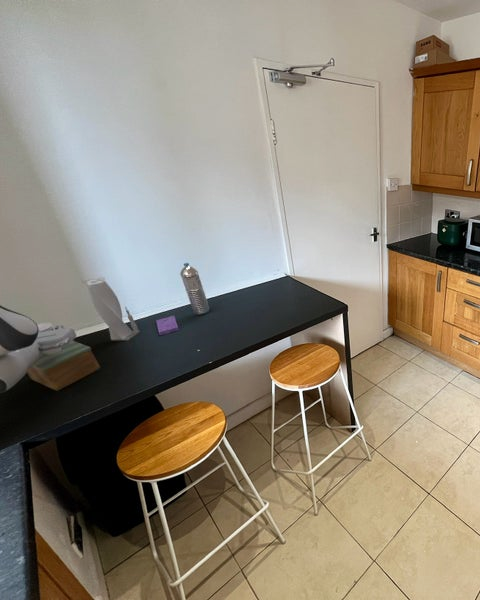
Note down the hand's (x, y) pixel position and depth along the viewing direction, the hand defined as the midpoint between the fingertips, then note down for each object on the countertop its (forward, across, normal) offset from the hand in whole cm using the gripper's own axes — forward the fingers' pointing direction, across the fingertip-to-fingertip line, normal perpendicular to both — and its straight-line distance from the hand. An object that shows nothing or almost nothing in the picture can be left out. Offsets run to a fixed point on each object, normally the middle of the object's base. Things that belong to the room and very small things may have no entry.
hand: (42, 330), depth 104 cm
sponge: (+21, -27, +18) cm, 39 cm away
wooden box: (-1, 0, +18) cm, 18 cm away
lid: (-1, 0, +9) cm, 9 cm away
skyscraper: (+19, -12, +18) cm, 29 cm away
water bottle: (+30, -40, +18) cm, 53 cm away
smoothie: (-1, 0, +8) cm, 8 cm away
